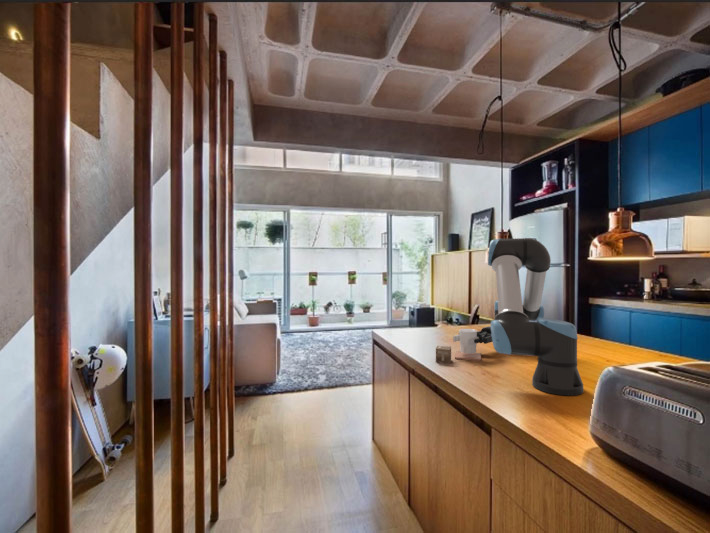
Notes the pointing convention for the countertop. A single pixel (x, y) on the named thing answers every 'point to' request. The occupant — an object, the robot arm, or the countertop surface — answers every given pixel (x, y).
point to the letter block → (443, 354)
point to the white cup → (464, 336)
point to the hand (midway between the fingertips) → (461, 340)
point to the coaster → (468, 356)
